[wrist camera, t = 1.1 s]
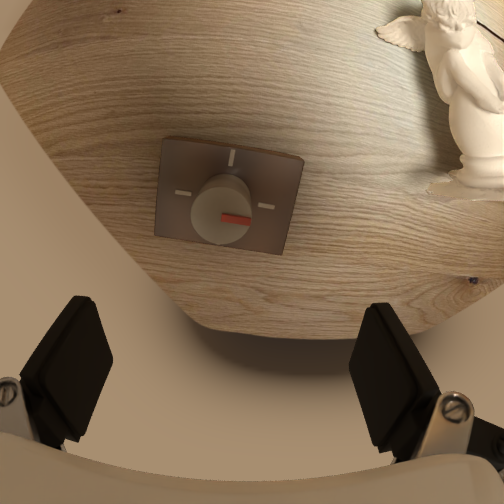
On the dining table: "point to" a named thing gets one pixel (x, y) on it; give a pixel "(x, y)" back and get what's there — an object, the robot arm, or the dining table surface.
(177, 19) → the dining table surface
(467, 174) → the angel figurine
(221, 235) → the dial
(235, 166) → the dial panel
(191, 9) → the dining table surface
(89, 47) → the dining table surface
